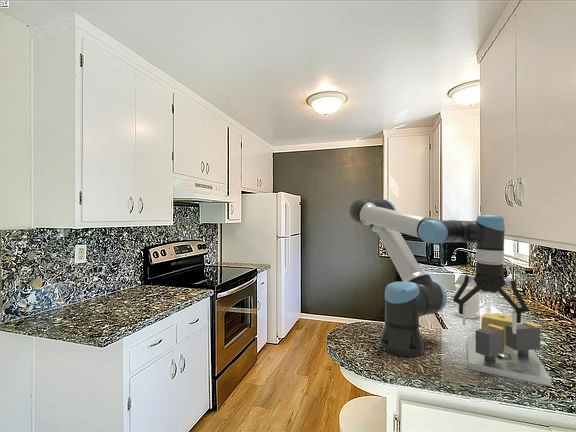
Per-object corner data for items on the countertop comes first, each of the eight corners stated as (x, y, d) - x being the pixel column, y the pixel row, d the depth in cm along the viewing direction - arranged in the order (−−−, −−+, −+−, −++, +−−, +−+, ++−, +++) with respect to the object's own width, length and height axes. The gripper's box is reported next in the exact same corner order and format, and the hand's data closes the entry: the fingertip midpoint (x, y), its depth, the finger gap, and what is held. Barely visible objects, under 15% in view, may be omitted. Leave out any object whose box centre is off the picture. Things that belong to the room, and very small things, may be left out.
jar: (473, 313, 154) (472, 283, 154) (484, 319, 144) (484, 288, 144) (451, 312, 155) (451, 283, 155) (460, 319, 145) (460, 287, 145)
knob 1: (489, 365, 93) (488, 332, 94) (475, 360, 97) (475, 328, 97) (504, 359, 98) (503, 327, 98) (490, 354, 101) (490, 324, 102)
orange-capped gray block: (516, 358, 99) (516, 327, 99) (506, 353, 103) (505, 323, 103) (540, 356, 100) (540, 325, 100) (528, 351, 104) (528, 322, 104)
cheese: (484, 334, 125) (484, 310, 125) (517, 341, 118) (516, 315, 118) (480, 342, 117) (480, 316, 117) (515, 350, 110) (515, 322, 110)
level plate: (468, 369, 95) (468, 360, 95) (466, 342, 116) (466, 335, 116) (551, 386, 85) (551, 377, 85) (532, 354, 106) (532, 346, 106)
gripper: (535, 265, 95) (534, 332, 95) (446, 258, 107) (445, 317, 107) (541, 268, 89) (540, 340, 89) (445, 260, 101) (444, 324, 101)
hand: (488, 328), depth 98 cm, fingers open, 13 cm apart
